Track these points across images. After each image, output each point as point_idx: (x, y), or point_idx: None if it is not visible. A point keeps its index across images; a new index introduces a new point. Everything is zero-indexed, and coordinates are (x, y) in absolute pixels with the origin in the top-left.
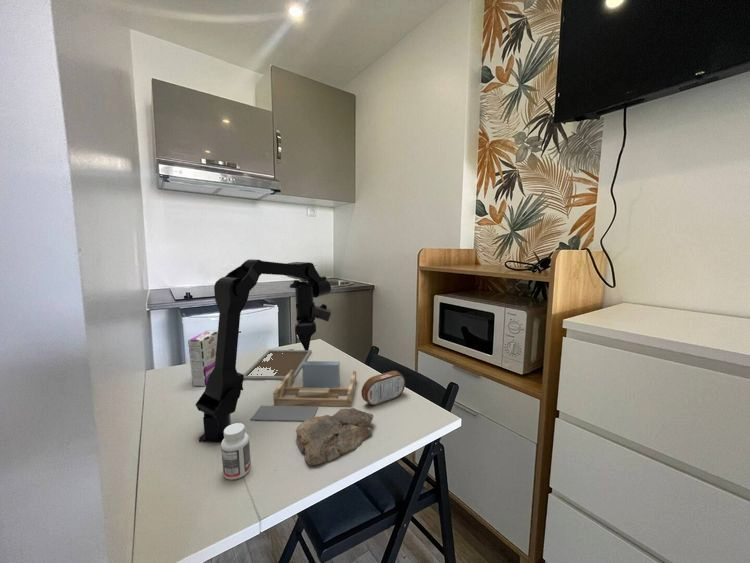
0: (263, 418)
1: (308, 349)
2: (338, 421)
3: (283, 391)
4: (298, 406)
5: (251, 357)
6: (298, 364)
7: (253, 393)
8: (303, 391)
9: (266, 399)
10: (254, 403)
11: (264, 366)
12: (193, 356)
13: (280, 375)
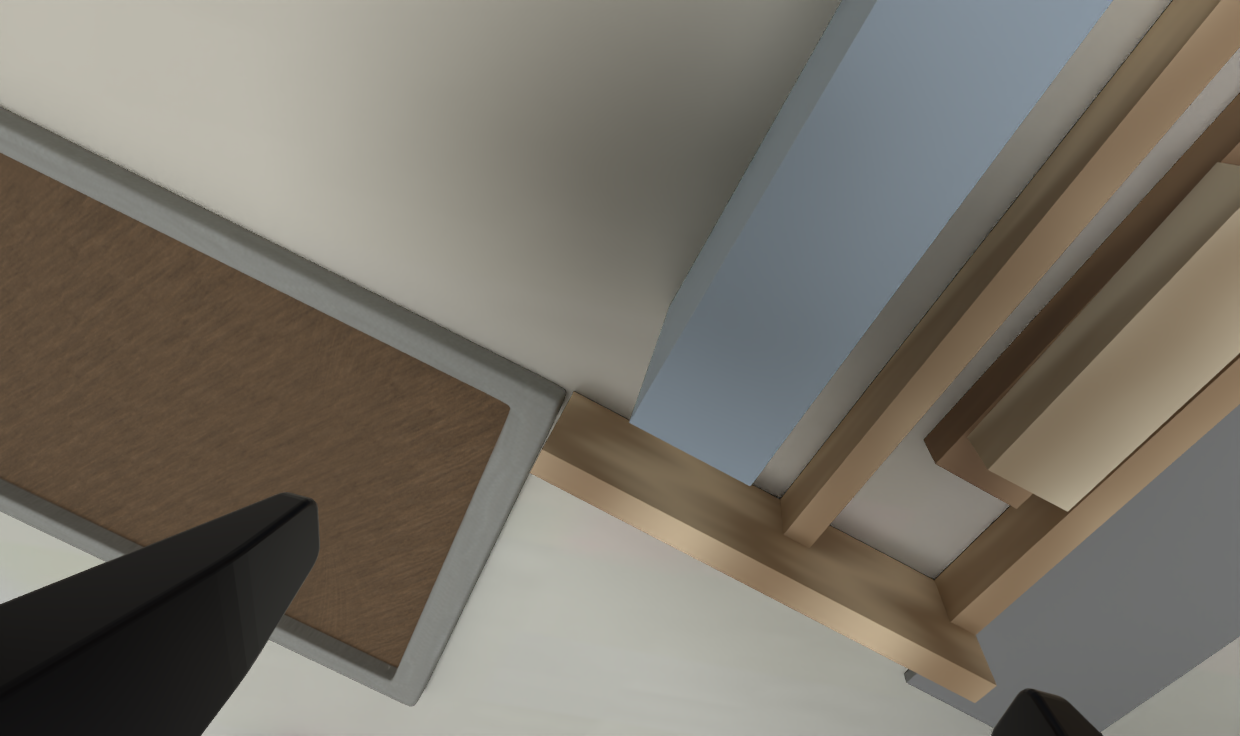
0: (1116, 708)
1: (1078, 715)
2: None
3: (833, 551)
4: None
5: (32, 570)
6: (211, 270)
7: (666, 669)
8: (1099, 468)
9: (810, 627)
10: (824, 692)
11: None
12: None
13: (426, 466)
